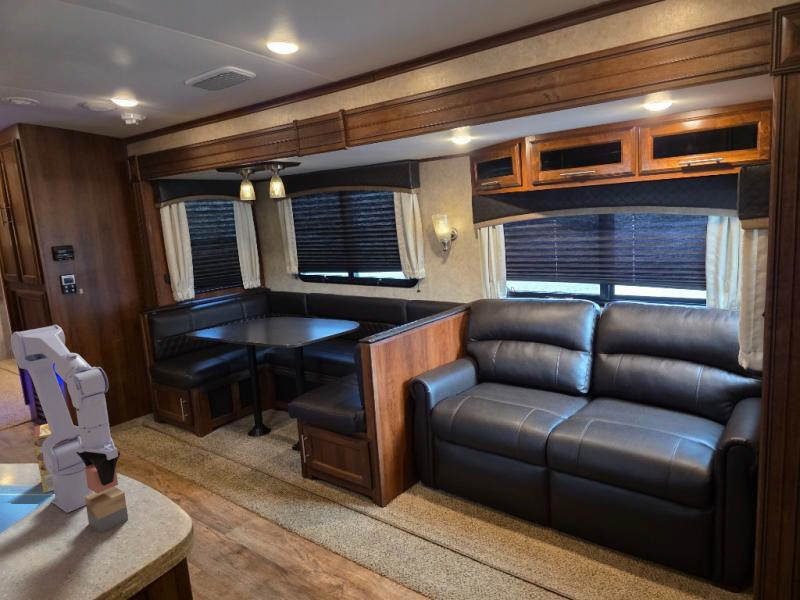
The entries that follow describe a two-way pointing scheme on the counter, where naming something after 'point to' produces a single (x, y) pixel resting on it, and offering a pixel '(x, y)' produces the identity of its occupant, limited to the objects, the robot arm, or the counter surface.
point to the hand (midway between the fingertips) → (102, 480)
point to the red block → (97, 480)
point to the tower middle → (105, 502)
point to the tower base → (108, 520)
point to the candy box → (39, 437)
